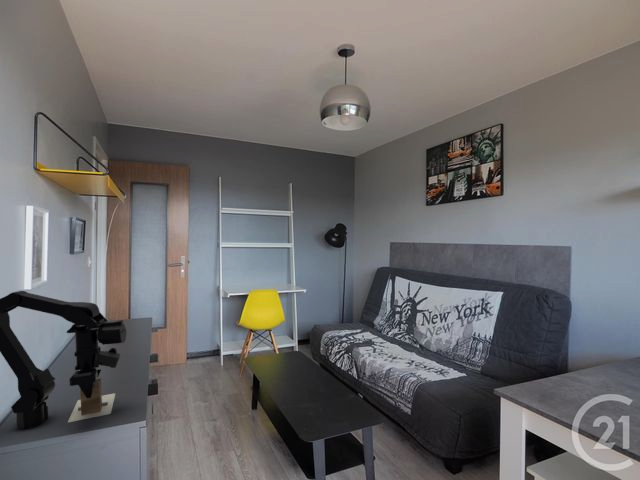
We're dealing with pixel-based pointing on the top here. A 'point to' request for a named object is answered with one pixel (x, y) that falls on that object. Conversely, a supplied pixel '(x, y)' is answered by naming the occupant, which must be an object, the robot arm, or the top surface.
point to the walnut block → (92, 400)
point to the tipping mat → (106, 409)
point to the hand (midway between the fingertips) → (89, 397)
